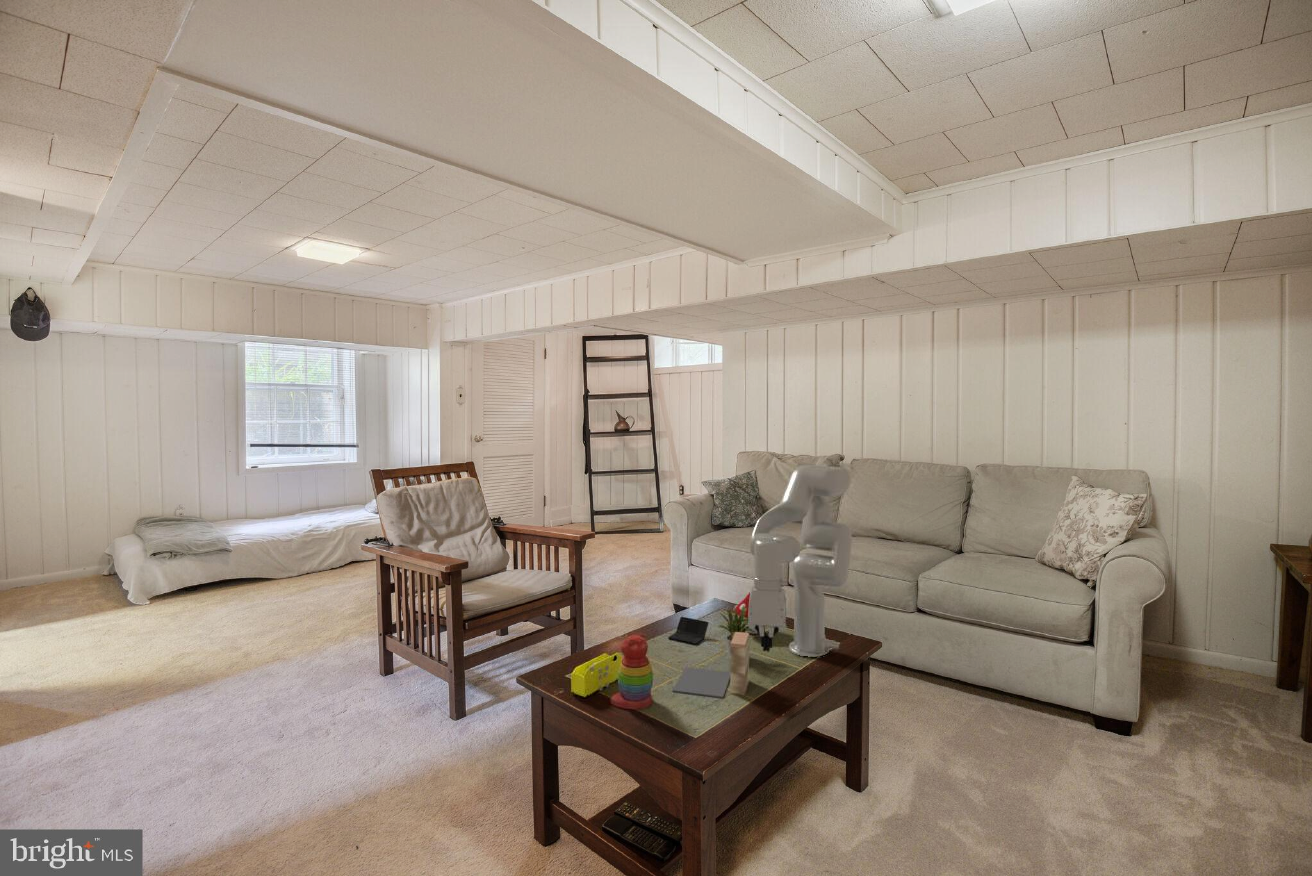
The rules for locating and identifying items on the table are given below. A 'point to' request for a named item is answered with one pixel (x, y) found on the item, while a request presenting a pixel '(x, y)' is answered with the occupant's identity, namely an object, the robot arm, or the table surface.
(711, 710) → the table surface
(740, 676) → the maple block
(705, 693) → the mat
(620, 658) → the yellow toy chassis
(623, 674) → the stacking bear
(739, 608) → the decorative mushroom
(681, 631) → the handheld gaming console
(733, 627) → the house plant
